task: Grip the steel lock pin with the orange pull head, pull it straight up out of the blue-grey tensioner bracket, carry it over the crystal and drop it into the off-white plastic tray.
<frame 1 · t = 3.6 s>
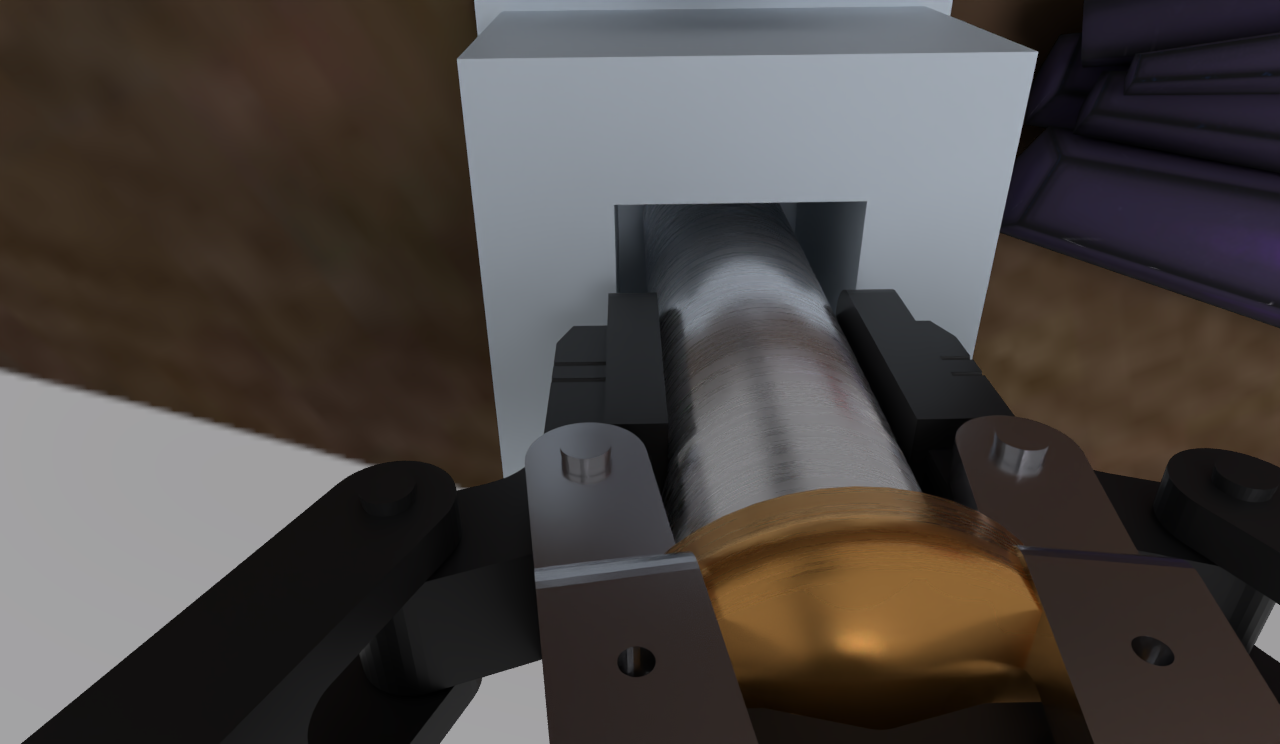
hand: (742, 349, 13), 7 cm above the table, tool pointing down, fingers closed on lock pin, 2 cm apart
tensioner bracket: (708, 29, 17), on the table
lock pin: (708, 212, 18), point 1 cm above the table, touching gripper, tensioner bracket
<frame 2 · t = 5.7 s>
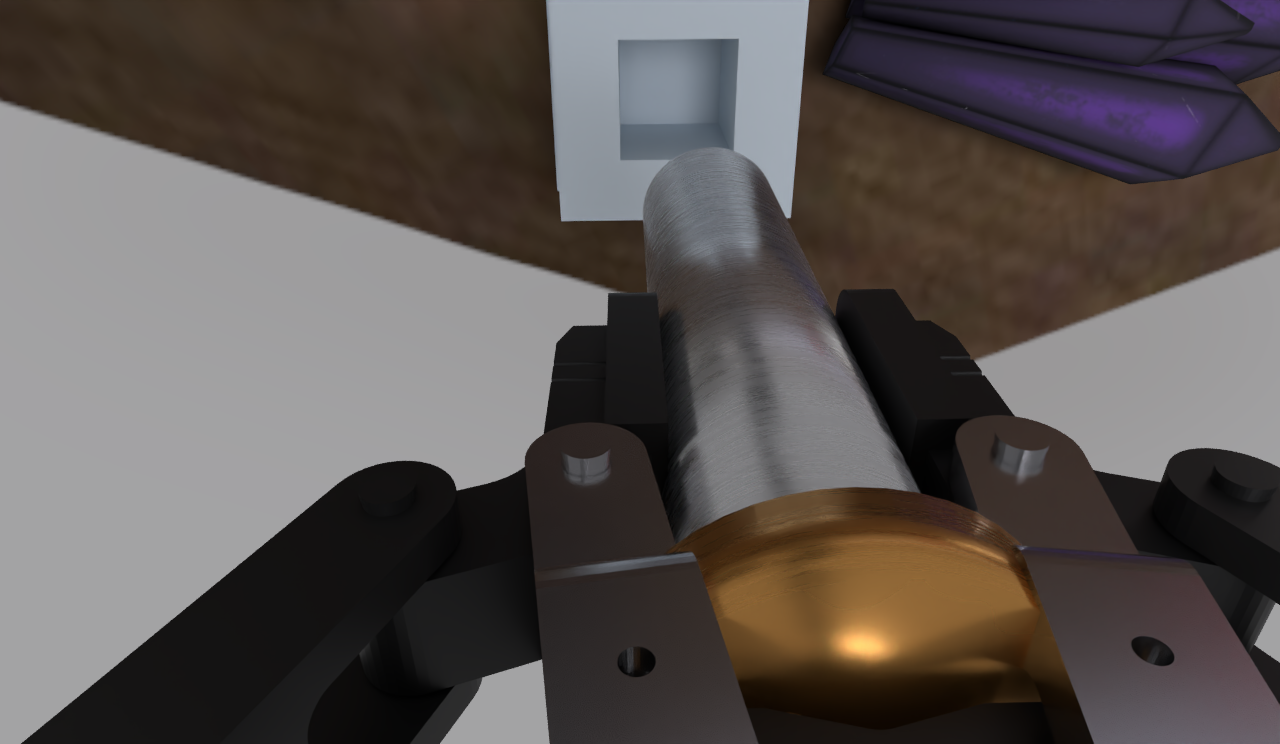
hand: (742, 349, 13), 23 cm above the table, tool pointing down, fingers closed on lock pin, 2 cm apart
crystal: (1082, 5, 32), on the table
lock pin: (708, 212, 18), point 17 cm above the table, touching gripper
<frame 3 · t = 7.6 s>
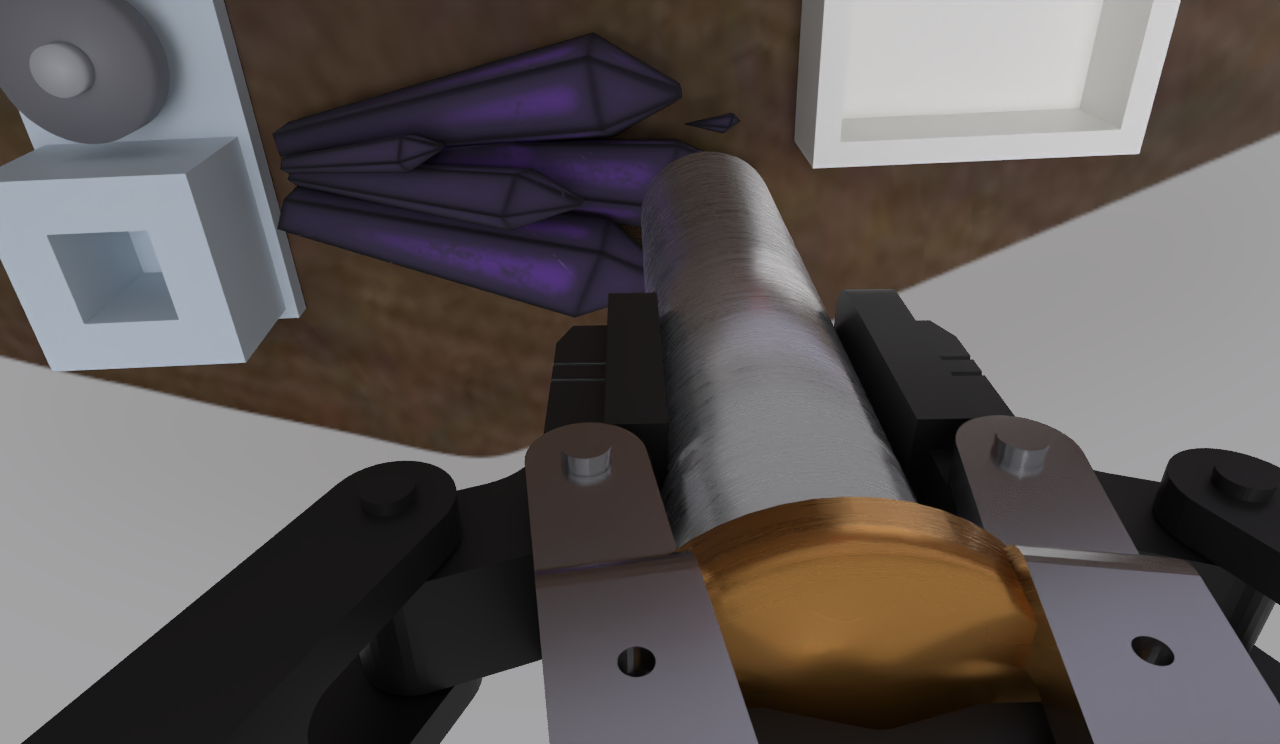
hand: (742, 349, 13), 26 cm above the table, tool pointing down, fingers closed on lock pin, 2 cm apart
tensioner bracket: (156, 145, 36), on the table
crystal: (527, 159, 37), on the table
lock pin: (706, 216, 18), point 20 cm above the table, touching gripper
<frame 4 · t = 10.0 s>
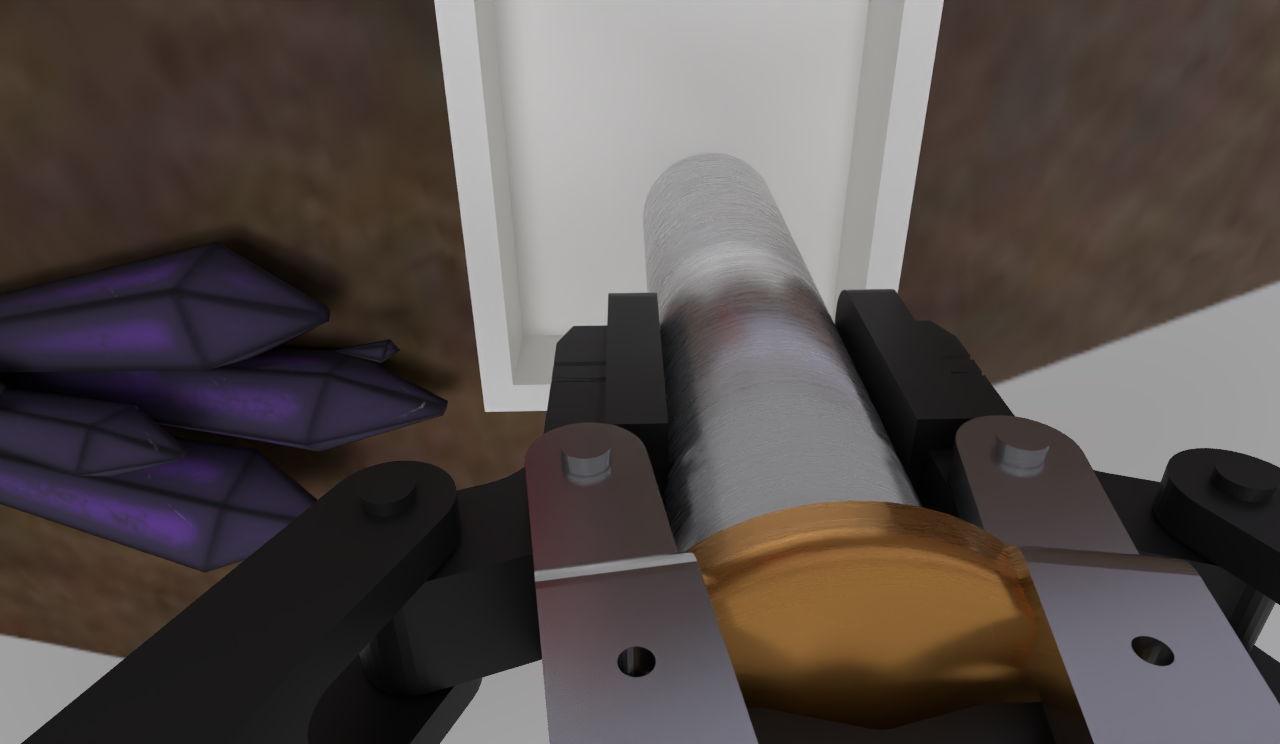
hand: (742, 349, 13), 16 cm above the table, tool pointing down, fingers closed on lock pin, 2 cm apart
crystal: (186, 361, 31), on the table
tray: (679, 99, 27), on the table
lock pin: (708, 218, 18), point 10 cm above the table, touching gripper
when the fingers open (9 cm above the table, at t = 11.8 s): lock pin drops 2 cm, resting on tray.
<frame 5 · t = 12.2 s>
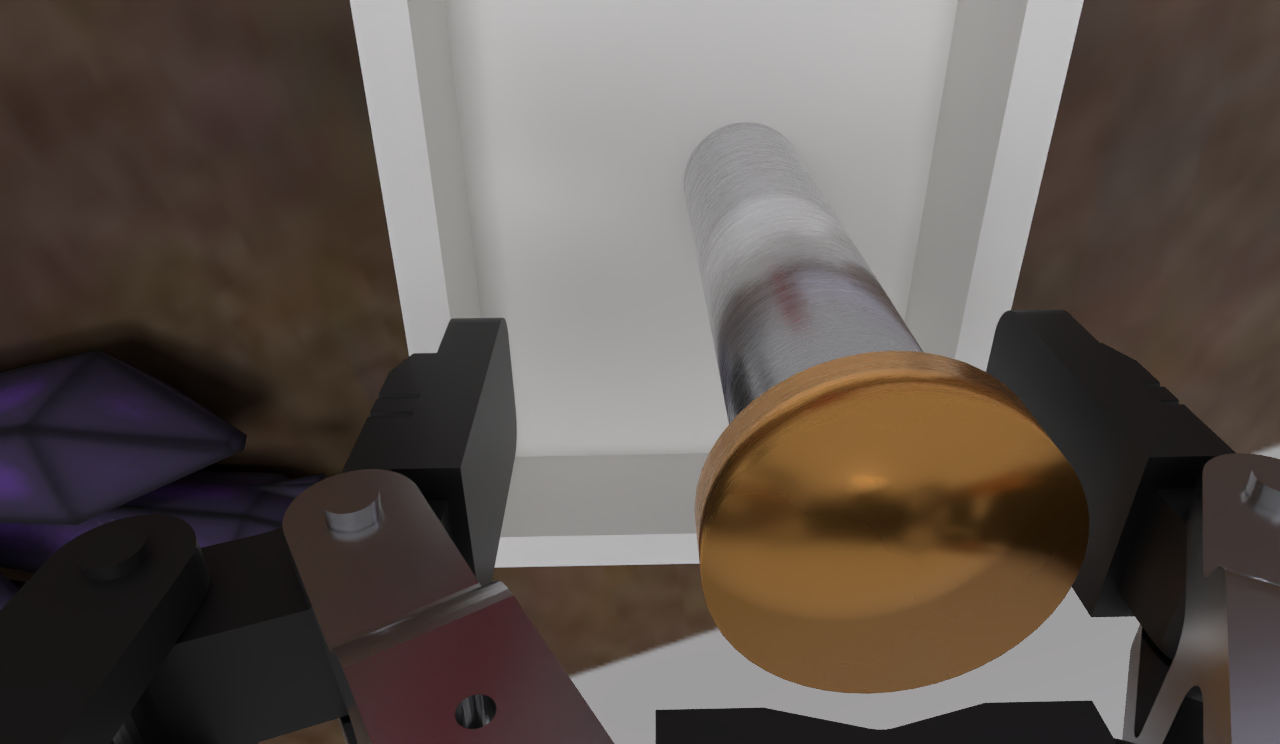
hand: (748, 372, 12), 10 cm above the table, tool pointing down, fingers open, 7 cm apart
crystal: (79, 479, 25), on the table
tray: (696, 170, 20), on the table
lock pin: (742, 181, 20), point 1 cm above the table, touching tray
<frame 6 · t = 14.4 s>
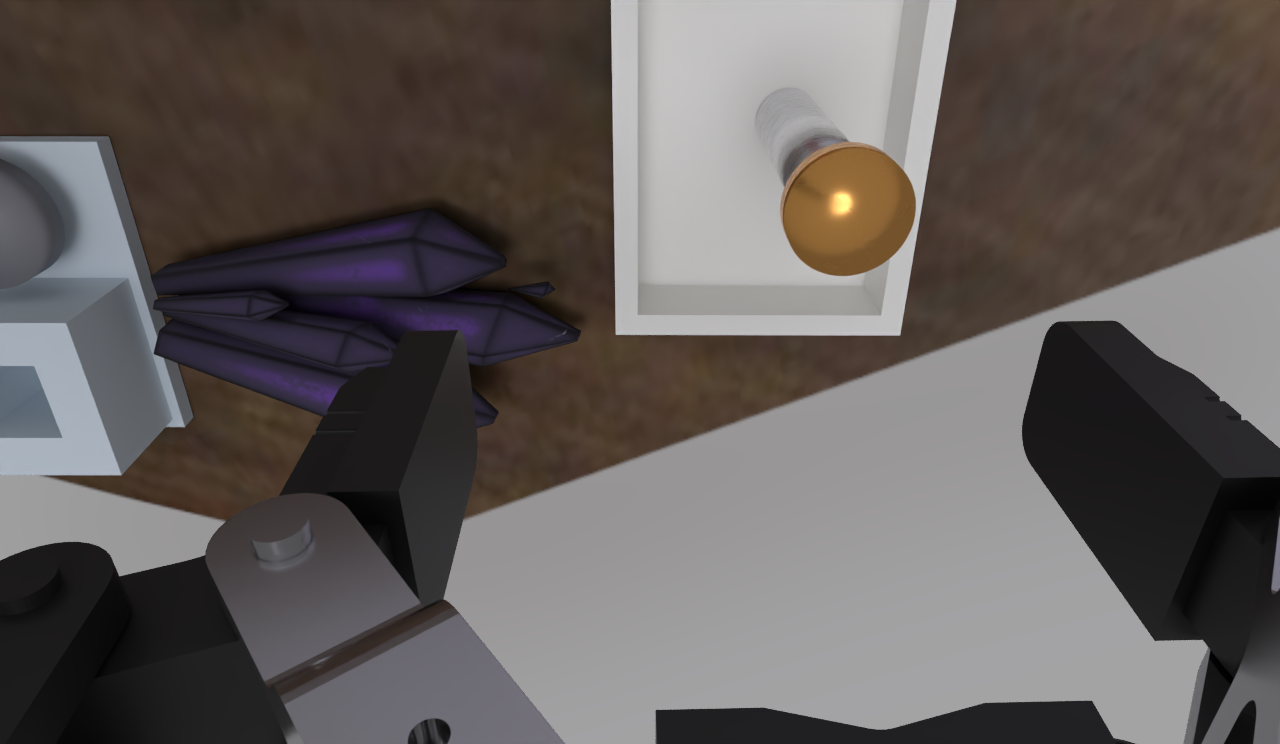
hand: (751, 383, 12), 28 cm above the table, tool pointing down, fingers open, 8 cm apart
tensioner bracket: (61, 279, 42), on the table
crystal: (385, 298, 43), on the table
tray: (761, 114, 38), on the table
lock pin: (786, 120, 37), point 1 cm above the table, touching tray
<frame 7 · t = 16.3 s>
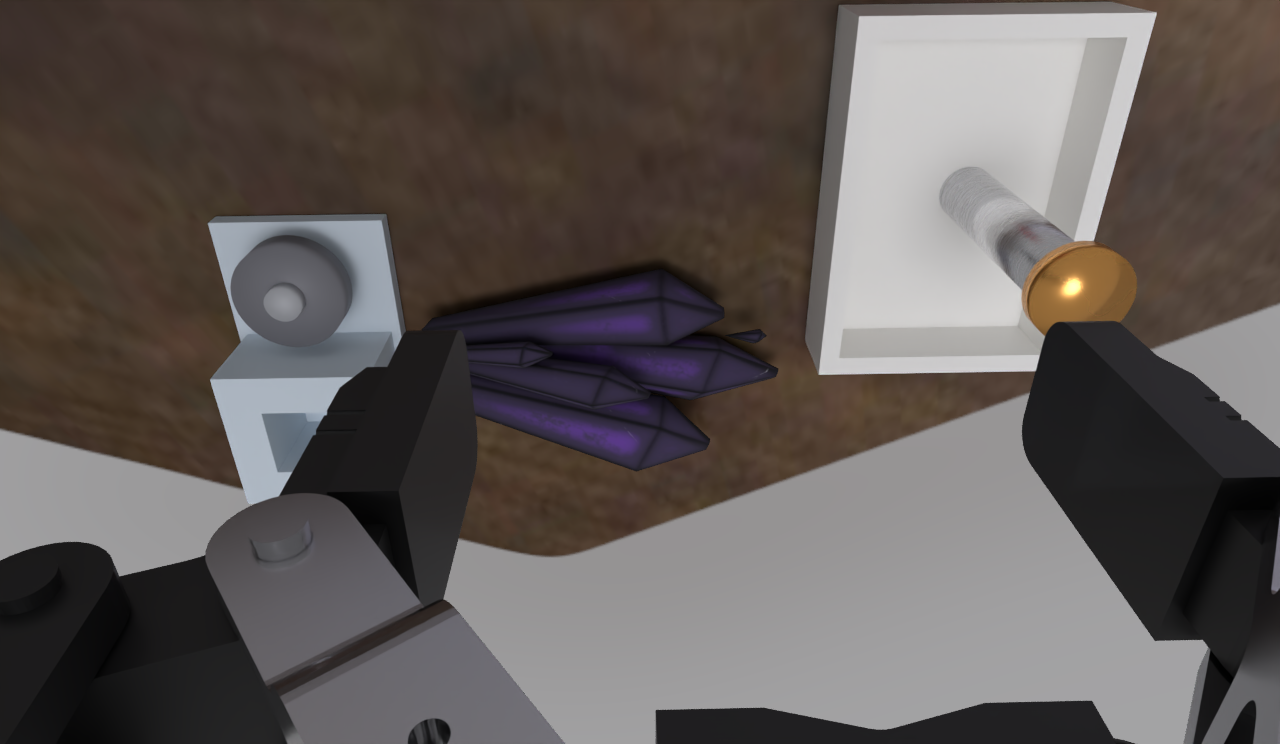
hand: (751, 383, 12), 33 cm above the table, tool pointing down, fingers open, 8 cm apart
tensioner bracket: (326, 332, 48), on the table
crystal: (602, 341, 49), on the table
tray: (942, 187, 45), on the table
lock pin: (966, 192, 44), point 1 cm above the table, touching tray
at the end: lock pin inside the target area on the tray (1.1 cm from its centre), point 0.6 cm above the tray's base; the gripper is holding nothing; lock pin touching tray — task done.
